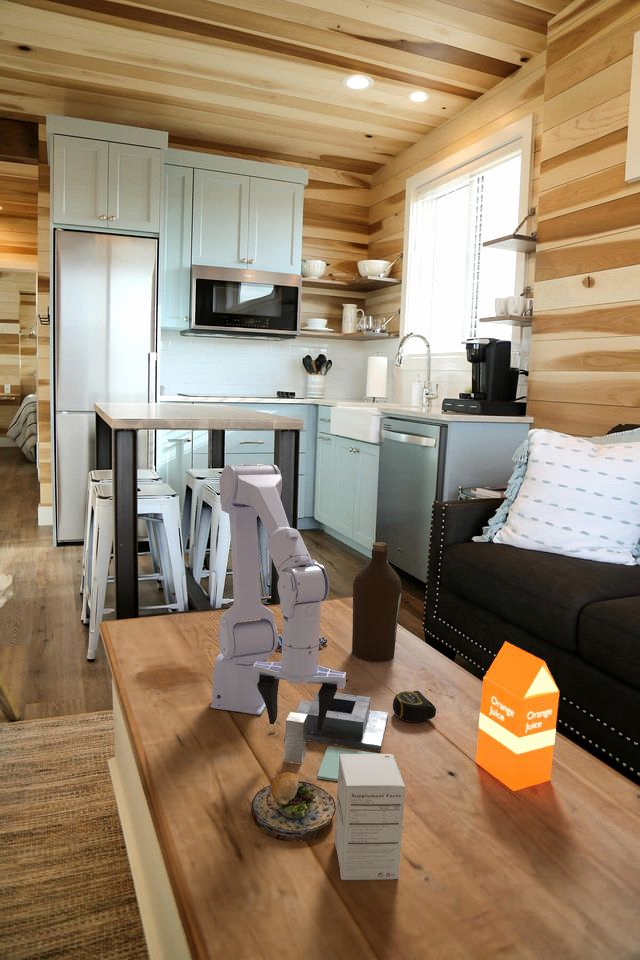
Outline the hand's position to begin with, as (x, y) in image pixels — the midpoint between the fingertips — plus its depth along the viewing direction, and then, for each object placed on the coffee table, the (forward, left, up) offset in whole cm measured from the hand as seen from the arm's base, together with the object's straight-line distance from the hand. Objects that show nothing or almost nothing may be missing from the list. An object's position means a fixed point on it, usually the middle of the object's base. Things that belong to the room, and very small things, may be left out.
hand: (296, 724), depth 111 cm
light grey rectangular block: (0, 0, -6) cm, 6 cm away
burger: (+3, -14, -6) cm, 16 cm away
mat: (+9, 0, -6) cm, 11 cm away
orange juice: (+34, +6, -6) cm, 35 cm away
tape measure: (+17, +21, -6) cm, 28 cm away
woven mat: (-10, +46, -7) cm, 48 cm away
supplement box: (+14, -21, -6) cm, 26 cm away
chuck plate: (+5, +12, -6) cm, 14 cm away
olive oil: (+7, +47, -6) cm, 48 cm away
